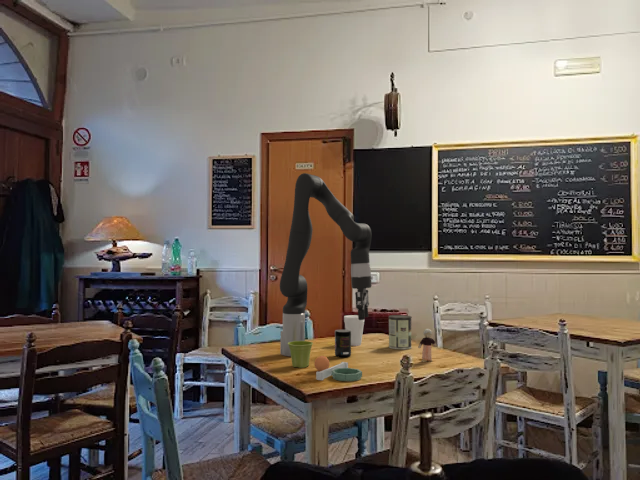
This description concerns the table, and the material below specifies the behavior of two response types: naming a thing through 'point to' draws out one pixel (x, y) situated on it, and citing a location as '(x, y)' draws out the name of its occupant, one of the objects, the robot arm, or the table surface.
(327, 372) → the white long bar
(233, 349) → the table surface
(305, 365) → the plant pot
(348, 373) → the saucer
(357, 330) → the foam cup
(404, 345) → the coffee can
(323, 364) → the ball
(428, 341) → the grandmother figurine
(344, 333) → the supplement container
